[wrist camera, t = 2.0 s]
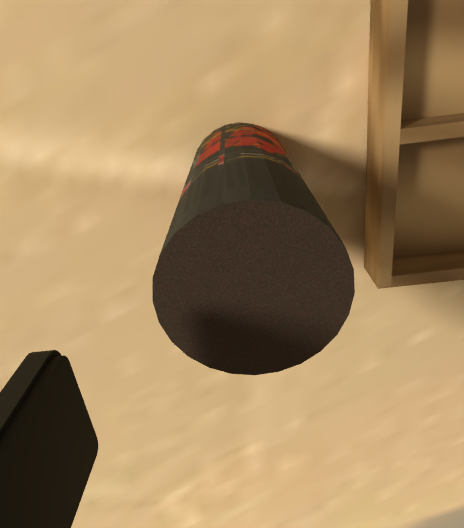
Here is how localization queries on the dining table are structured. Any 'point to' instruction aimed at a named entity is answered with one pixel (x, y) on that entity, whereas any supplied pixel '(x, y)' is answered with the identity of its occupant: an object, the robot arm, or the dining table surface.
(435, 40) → the crate
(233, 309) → the deodorant
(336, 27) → the dining table surface
